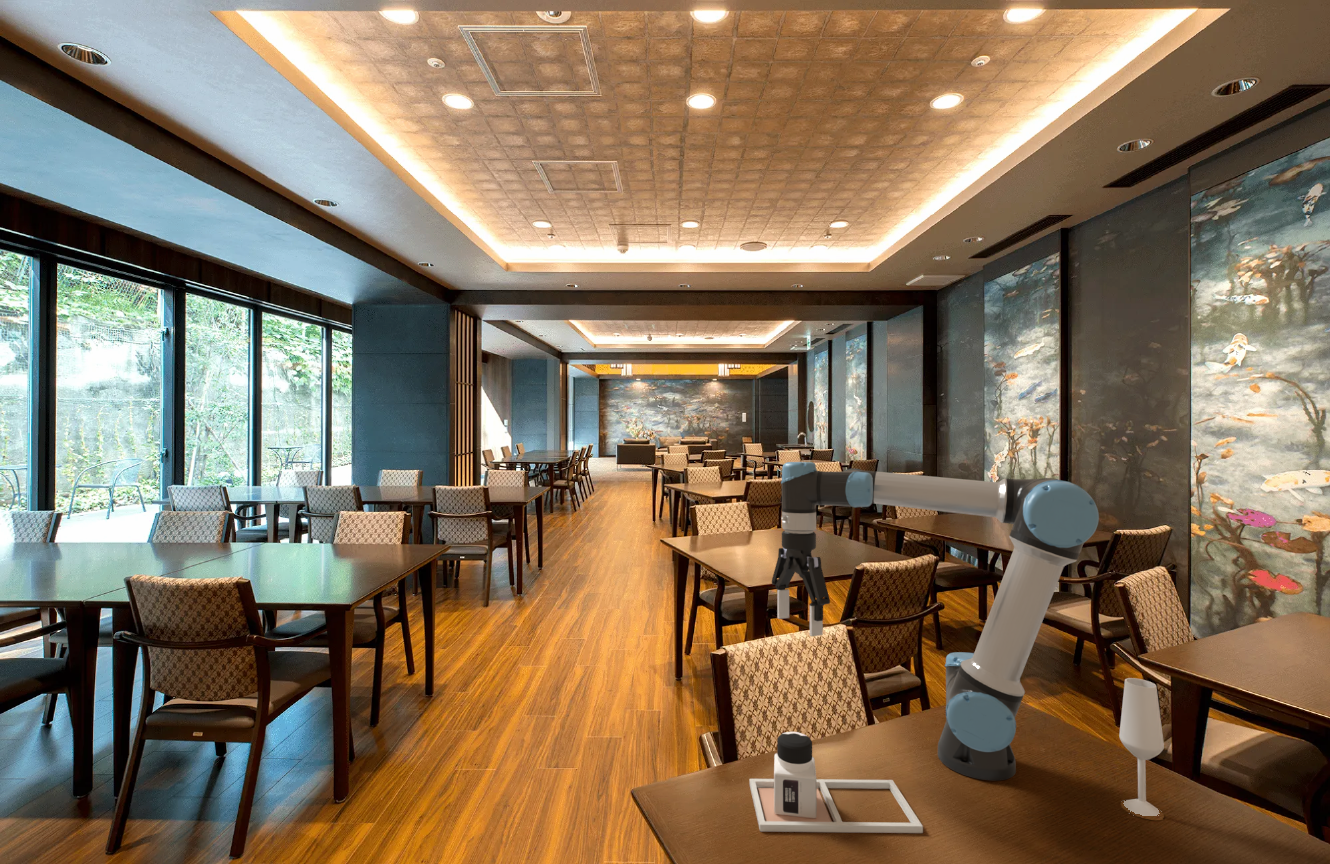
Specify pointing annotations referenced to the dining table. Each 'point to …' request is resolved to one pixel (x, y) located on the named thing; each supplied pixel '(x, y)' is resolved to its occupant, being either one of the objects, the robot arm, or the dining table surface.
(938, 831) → the dining table surface
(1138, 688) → the champagne flute
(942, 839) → the dining table surface
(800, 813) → the container
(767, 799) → the bay frame
